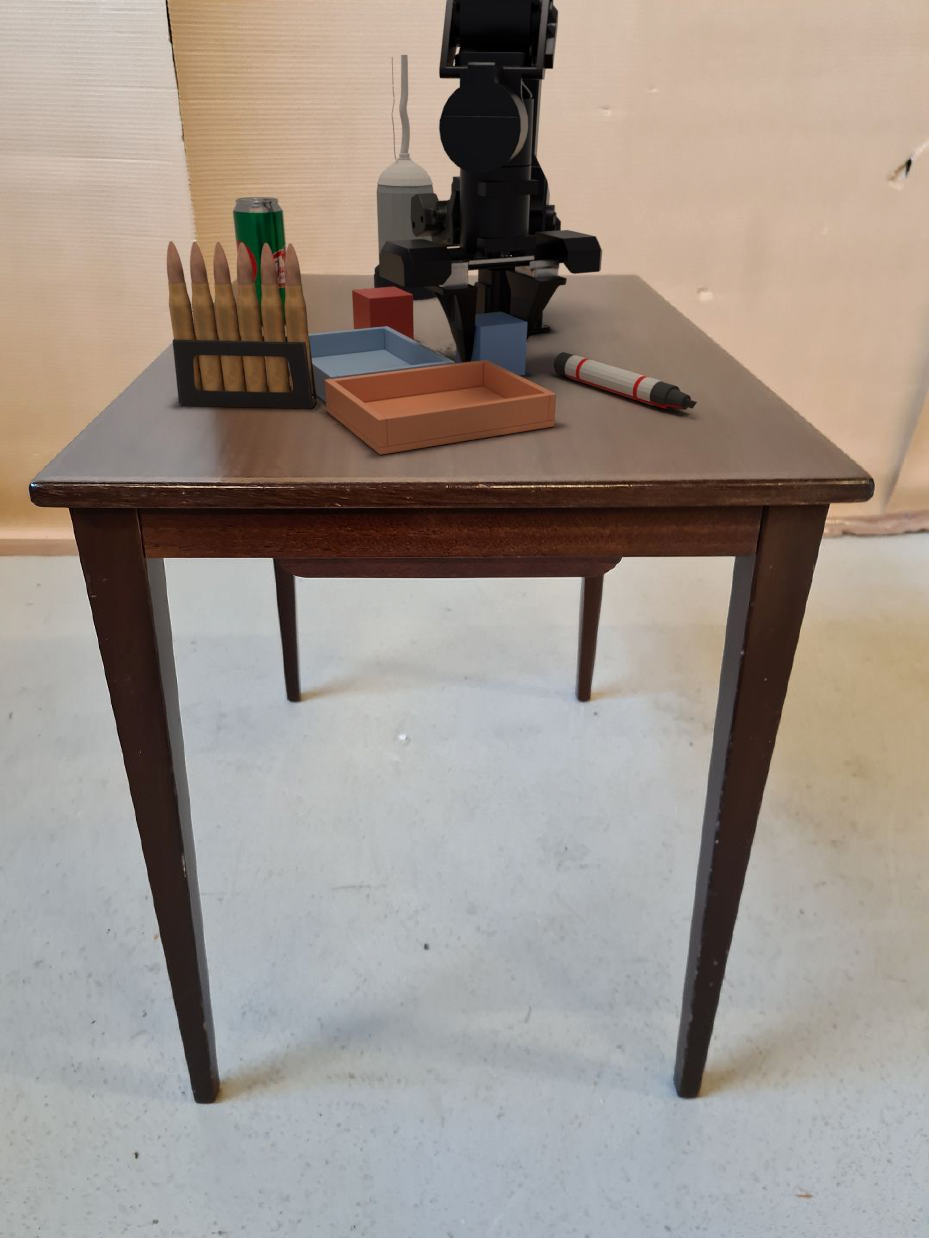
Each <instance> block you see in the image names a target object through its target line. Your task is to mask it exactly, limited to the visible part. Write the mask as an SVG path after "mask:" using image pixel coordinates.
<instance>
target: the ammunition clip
mask: <svg viewBox="0 0 929 1238" xmlns="http://www.w3.org/2000/svg"><path fill="white" fill-rule="evenodd" d="M286 250H287V251H286V257H285V294H286V296H285V319H286V322H285V323H284V314H283V305H282V301H281V297H280V293H279V285H278V280H277V272H276V266H275V262H274V258H273V255H272V252H271V249H270V247H269V245H268V244H267V243H265V244H264V246H263V250H262V256H261V282H262V284H261V288H262V300H261V312H262V322H263V325H261V316H260V307H259V302H258V298H257V295H256V289H255V283H254V277H253V270H252V265H251V261H250V257H249V254H248V251H247V249H246V247H245V245H244V243H242V242H241V243H240V245H239V248H238V255H237V254H236V255H237V256H236V278H237V279H236V280H237V301H236V297H235V294H234V290H233V285H232V284H233V283H232V280H231V279H232V278H231V271H230V266H229V263H228V258H227V256H226V255H227V254H226V253H225V249H224V247H223V245H222V244H221V242H219V241H217V242H216V243H215V247H214V251H213V262H212V263H213V265H212V266H213V279H214V280H213V281H214V283H213V285H214V300H213V297H212V294H211V289H210V288H211V287H210V283H209V280H208V273H207V267H206V263H205V259H204V256H203V253H202V251H201V249H200V246H199V244H198V243H197V242H196V241H193V242H192V244H191V248H190V254H189V255H190V256H189V271H190V272H189V273H190V281H191V283H190V286H191V299H190V296H189V292H188V287H187V282H186V277H185V273H184V272H185V271H184V268H183V263H182V260H181V256H180V254H179V251H178V249H177V247H176V245H175V243H174V241H172V240H170V241H169V242H168V245H167V250H166V274H167V280H168V282H167V286H168V295H169V296H168V308H169V313H170V322H171V328H172V336H173V339H172V347H173V348H172V349H173V360H174V369H175V380H176V388H177V389H176V390H177V396H178V397H177V399H178V404H179V405H180V406H184V407H185V406H187V407H224V408H225V407H231V408H237V407H238V408H271V409H272V408H275V409H313V408H314V407H315V405H316V403H317V401H318V398H317V397H318V396H317V395H316V388H315V380H314V372H313V364H312V356H311V348H310V340H309V335H308V334H309V323H308V313H307V311H308V310H307V305H306V304H307V303H306V300H305V296H304V290H303V284H302V273H301V267H300V263H299V258H298V255H297V252H296V249H295V247H294V245H293V244H292V243H291V242H290V243H288V245H287V246H286ZM286 336H287V337H286ZM288 362H289V367H288ZM289 368H290V374H289Z"/></svg>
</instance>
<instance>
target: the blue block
mask: <svg viewBox="0 0 929 1238" xmlns="http://www.w3.org/2000/svg"><path fill="white" fill-rule="evenodd" d="M526 342H527V343H528V341H527V322H526V321H523V320H521V319H518V318H516V317H513V316H511V315H508V314H506V313H503V312H494V313H484V314H476V319H475V334H474V347H473V353H472V358H471V362H473V361H481V360H488V361H490V362H492V363H494V364H496V365H498V366H500V367H503V368H505V369H507V370H509V371H511V372H513V373H515V374H517V375H519V376H521V377H523V376H526V363H527V362H526V361H527V343H526ZM456 363H462V361H461V359H460V356H459V353H458V350H457V347H456V346H455V364H456Z"/></svg>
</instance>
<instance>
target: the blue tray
mask: <svg viewBox="0 0 929 1238" xmlns="http://www.w3.org/2000/svg"><path fill="white" fill-rule="evenodd" d="M308 335H309V340H310V348H311V356H312V364H313V372H314V380H315V388H316V396H317V397H318V398H320V400H322V401H323V402H325V403H326V392H325V380H327V379H335V378H343V377H351V376H359V375H368V374H376V373H384V372H392V371H400V370H408V369H416V368H424V367H432V366H440V365H448V364H456V361H454V360H452V359H450V358H448V357H447V356H445V355H443V354H441V353H439V352H437V351H435V350H433V349H431V348H429V347H427V346H426V345H424V344H422V343H420V342H418V341H416V340H415V339H414V340H412V339H411V338H409V337H407V336H405V335H403V334H401V333H399V332H397V331H395V330H393V329H392V328H390V327H388V326H384V327H374V328H364V329H354V328H353V329H345V330H337V331H336V330H335V331H326V332H315V333H308ZM286 337H287V335H286ZM288 367H289V362H288ZM289 375H290V368H289Z"/></svg>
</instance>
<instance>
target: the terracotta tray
mask: <svg viewBox="0 0 929 1238" xmlns="http://www.w3.org/2000/svg"><path fill="white" fill-rule="evenodd" d="M325 392H326V402H325V404H326V406H325V407H326V412H327V413H328V414H329V415H330V416H332V417H333V418H334V419H336V420H337V421H338V422H339V423H340V424H342V425H343V426H344V427H345V428H347V429H348V430H349V431H350V432H351V433H353V434H354V435H355V436H356V437H358V439H360V440H361V441H363V442H364V443H365V444H366V445H367V446H369V447H370V448H371V449H372V450H373V451H375V453H377V454H378V455H387V454H393V453H399V452H405V451H411V450H417V449H424V448H428V447H430V448H431V447H437V446H442V445H448V444H455V443H460V442H467V441H472V440H473V441H474V440H479V439H486V438H490V437H497V436H503V435H508V434H509V435H510V434H515V433H522V432H529V431H535V430H540V429H547V428H553V427H555V419H556V403H557V393H555V392H553V391H551V390H549V389H547V388H545V387H543V386H541V385H539V384H537V383H535V382H534V381H531V380H529V379H527V378H524V377H523V376H519V375H517V374H515V373H513V372H511V371H509V370H507V369H505V368H503V367H500V366H498V365H496V364H494V363H492V362H490V361H488V360H481V361H473V362H464V363H456V362H455V364H448V365H440V366H432V367H424V368H416V369H408V370H400V371H392V372H384V373H376V374H368V375H359V376H351V377H343V378H335V379H327V380H325Z"/></svg>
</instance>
